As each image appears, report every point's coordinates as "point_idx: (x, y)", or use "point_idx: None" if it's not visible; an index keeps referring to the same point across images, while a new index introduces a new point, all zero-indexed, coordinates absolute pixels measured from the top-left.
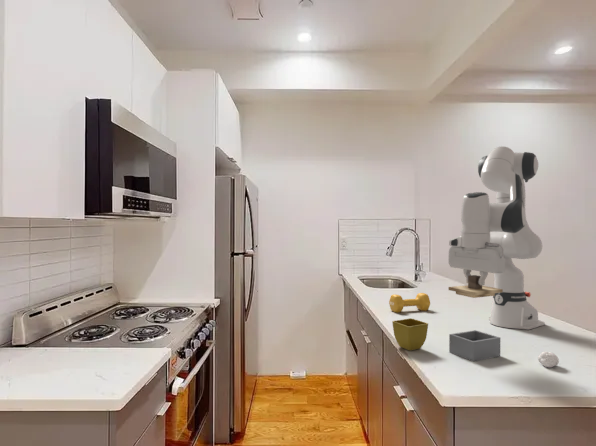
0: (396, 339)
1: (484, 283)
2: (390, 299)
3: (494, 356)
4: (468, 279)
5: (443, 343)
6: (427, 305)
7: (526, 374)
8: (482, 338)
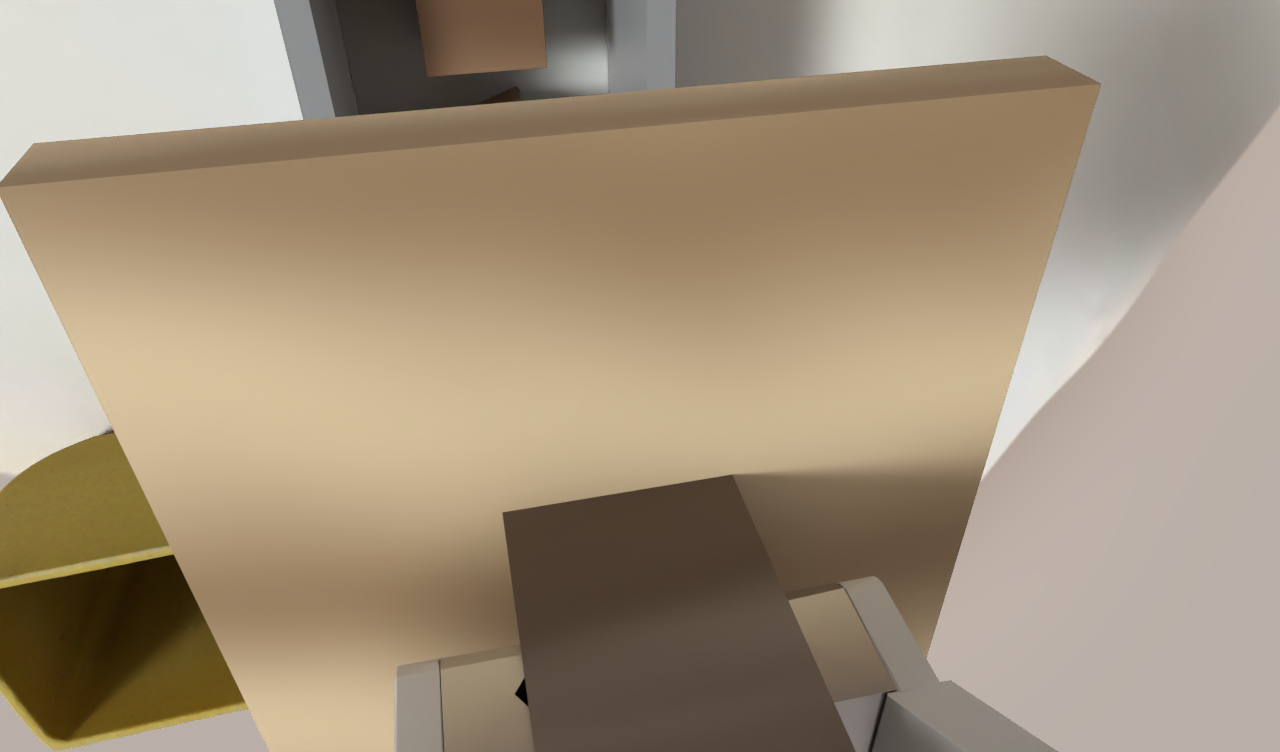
0: (127, 594)
1: (892, 600)
2: None
3: None
4: None
5: (52, 123)
6: None
7: (1006, 54)
8: None
